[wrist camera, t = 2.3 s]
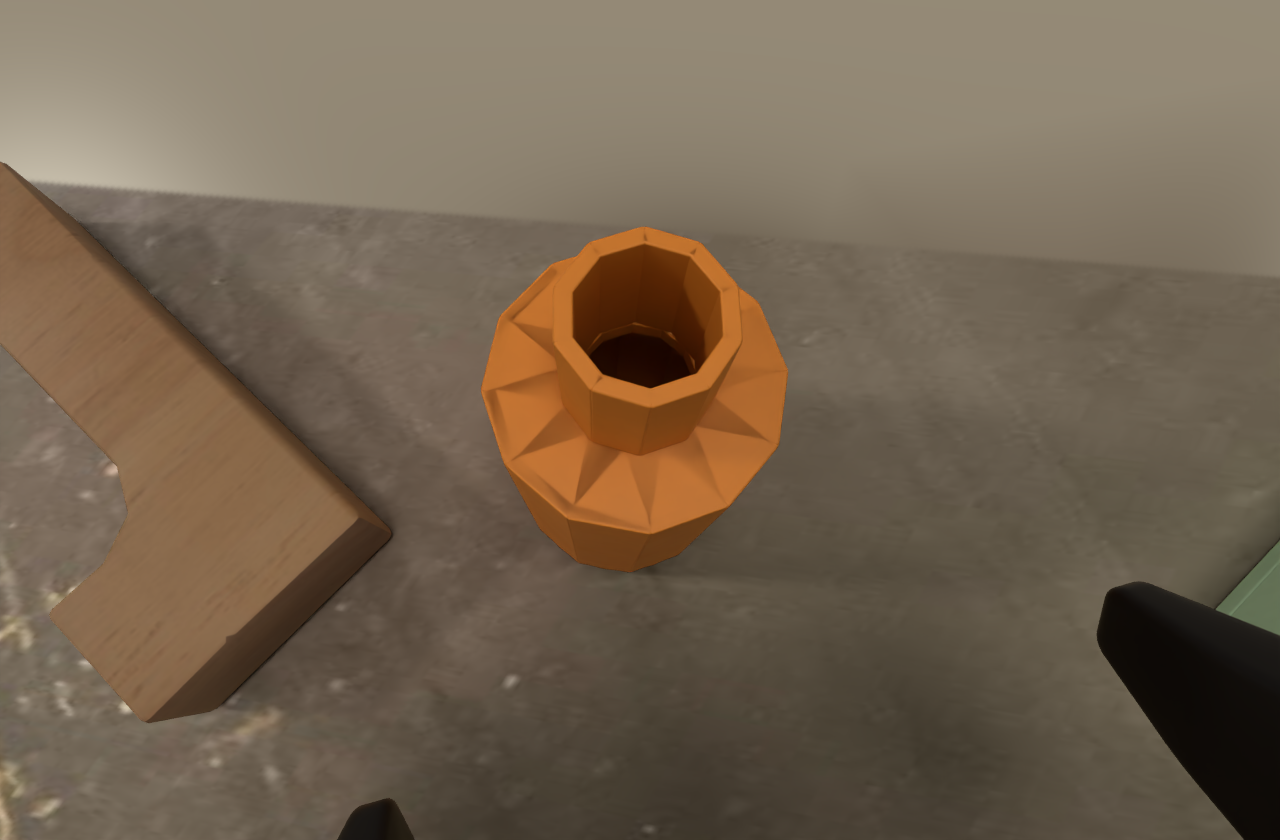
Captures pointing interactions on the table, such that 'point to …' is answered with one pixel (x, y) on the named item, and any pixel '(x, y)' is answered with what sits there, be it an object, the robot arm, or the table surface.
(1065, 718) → the table surface
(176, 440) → the wooden block
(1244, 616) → the box
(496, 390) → the bottle
